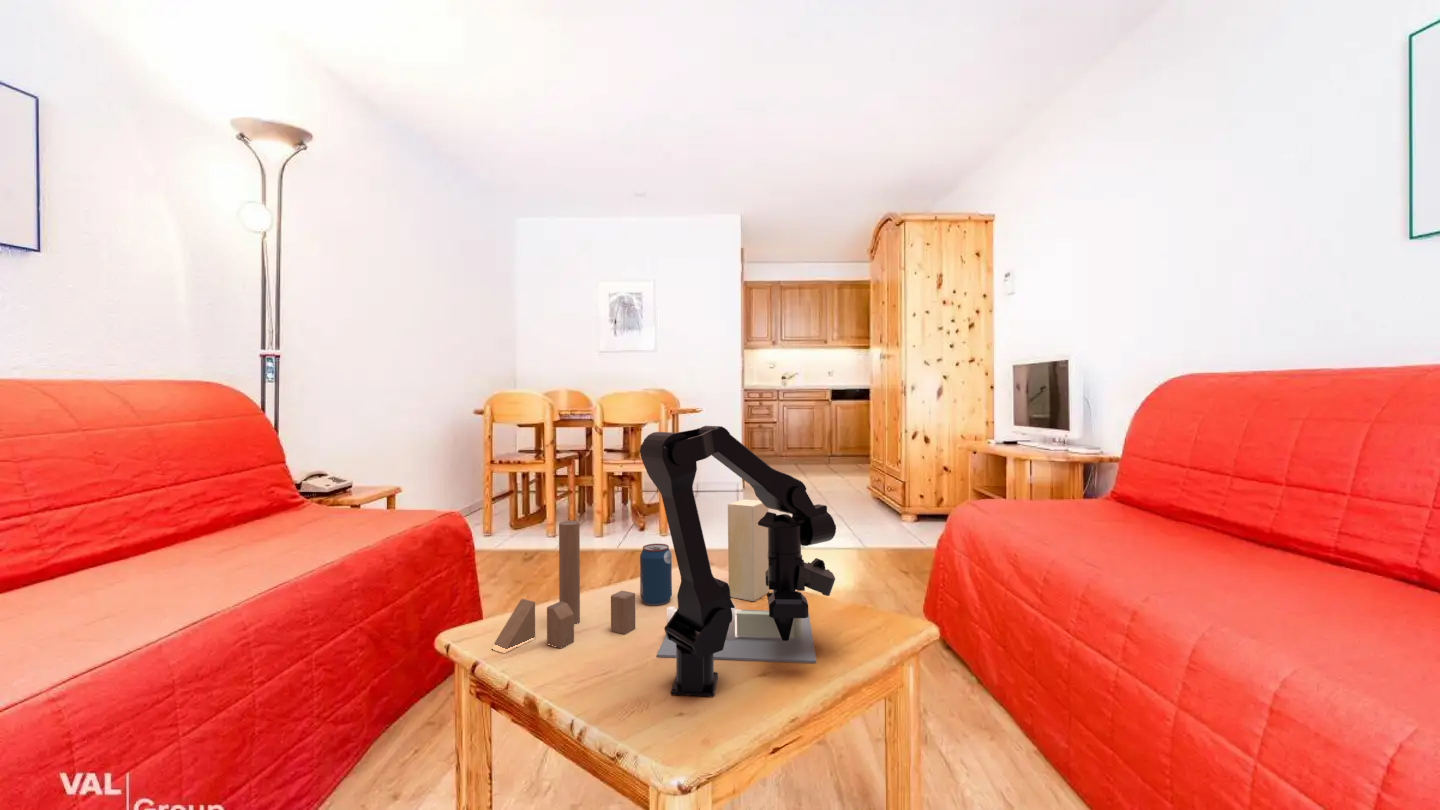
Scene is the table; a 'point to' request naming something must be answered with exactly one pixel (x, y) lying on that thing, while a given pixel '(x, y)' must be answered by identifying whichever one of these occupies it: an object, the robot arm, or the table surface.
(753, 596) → the tall beige block
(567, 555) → the wooden blocks
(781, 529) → the robot arm
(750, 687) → the table surface
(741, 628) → the swinging fence panel
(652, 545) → the soda can
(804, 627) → the card
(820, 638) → the table surface
